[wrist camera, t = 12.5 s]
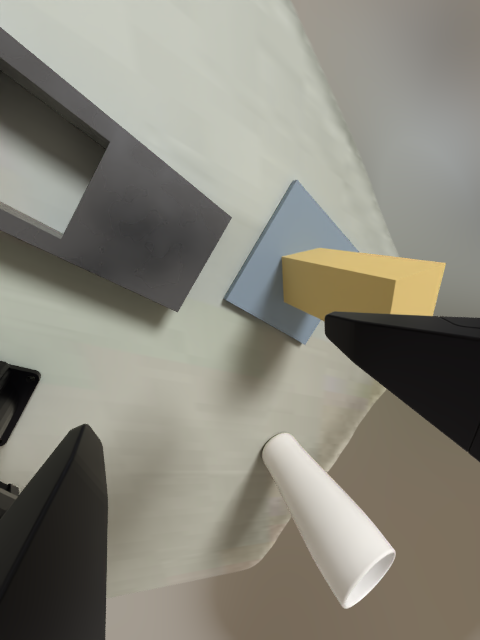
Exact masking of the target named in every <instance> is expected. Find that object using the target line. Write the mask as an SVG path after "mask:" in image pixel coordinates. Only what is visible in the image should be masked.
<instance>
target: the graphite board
mask: <svg viewBox="0 0 480 640" xmlns="http://www.w3.org/2000/svg"><path fill="white" fill-rule="evenodd" d="M0 70H1V71H2V72H4V73H5V74H6V75H8V76H9V77H10V78H12V79H13V80H14V81H16V82H17V83H18V84H20V85H21V86H22V87H24V88H25V89H26V90H28V91H29V92H30V93H32V94H33V95H34V96H36V97H37V98H38V99H40V100H41V101H42V102H44V103H45V104H46V105H48V106H49V107H50V108H52V109H53V110H54V111H56V112H57V113H58V114H60V115H61V116H62V117H64V118H65V119H66V120H68V121H69V122H71V123H72V124H73V125H75V126H76V127H77V128H79V129H80V130H81V131H83V132H84V133H85V134H87V135H88V136H89V137H91V138H92V139H93V140H95V141H96V142H97V143H99V144H100V145H101V146H103V147H104V148H105V149H106V151H105V153H104V155H103V157H102V159H101V161H100V163H99V165H98V167H97V169H96V171H95V173H94V175H93V177H92V179H91V181H90V183H89V185H88V187H87V189H86V191H85V193H84V195H83V197H82V199H81V201H80V203H79V205H78V207H77V209H76V211H75V213H74V214H73V216H72V218H71V220H70V222H69V224H68V226H67V228H66V230H65V232H64V234H62V233H60V232H58V231H56V230H54V229H52V228H50V227H48V226H47V225H45V224H43V223H41V222H39V221H37V220H35V219H33V218H31V217H29V216H27V215H25V214H23V213H21V212H19V211H17V210H15V209H13V208H11V207H9V206H8V205H6V204H4V203H2V202H0V230H1V231H3V232H5V233H7V234H10V235H12V236H14V237H16V238H18V239H20V240H23V241H25V242H27V243H29V244H31V245H33V246H36V247H38V248H40V249H42V250H44V251H46V252H48V253H51V254H53V255H55V256H57V257H59V258H61V259H64V260H66V261H68V262H70V263H72V264H74V265H77V266H79V267H81V268H83V269H85V270H87V271H90V272H92V273H94V274H96V275H98V276H100V277H103V278H105V279H107V280H109V281H111V282H113V283H115V284H118V285H120V286H122V287H124V288H126V289H128V290H131V291H133V292H135V293H137V294H139V295H141V296H144V297H146V298H148V299H150V300H152V301H154V302H157V303H159V304H161V305H163V306H165V307H167V308H169V309H172V310H174V311H176V312H178V311H179V309H180V307H181V305H182V304H183V302H184V300H185V298H186V297H187V295H188V293H189V291H190V290H191V288H192V286H193V284H194V283H195V281H196V279H197V277H198V276H199V274H200V272H201V271H202V269H203V267H204V265H205V264H206V262H207V260H208V258H209V257H210V255H211V253H212V251H213V250H214V248H215V246H216V244H217V243H218V241H219V239H220V237H221V236H222V234H223V232H224V230H225V229H226V227H227V225H228V223H229V222H230V220H231V218H232V217H230V216H229V215H228V214H227V213H226V212H224V211H223V210H222V209H221V208H219V207H218V206H217V205H216V204H215V203H213V202H212V201H211V200H210V199H209V198H207V197H206V196H205V195H204V194H202V193H201V192H200V191H199V190H198V189H196V188H195V187H194V186H193V185H192V184H190V183H189V182H188V181H187V180H185V179H184V178H183V177H182V176H181V175H179V174H178V173H177V172H176V171H175V170H173V169H172V168H171V167H170V166H168V165H167V164H166V163H165V162H164V161H162V160H161V159H160V158H159V157H157V156H156V155H155V154H154V153H153V152H151V151H150V150H149V149H148V148H147V147H145V146H144V145H143V144H142V143H140V142H139V141H138V140H137V139H136V138H134V137H133V136H132V135H131V134H130V133H128V132H127V131H126V130H125V129H123V128H122V127H121V126H120V125H119V124H117V123H116V122H115V121H114V120H113V119H111V118H110V117H109V116H108V115H106V114H105V113H104V112H103V111H102V110H100V109H99V108H98V107H97V106H96V105H94V104H93V103H92V102H91V101H89V100H88V99H87V98H86V97H85V96H83V95H82V94H81V93H80V92H78V91H77V90H76V89H75V88H74V87H72V86H71V85H70V84H69V83H68V82H66V81H65V80H64V79H63V78H61V77H60V76H59V75H58V74H57V73H55V72H54V71H53V70H52V69H51V68H49V67H48V66H47V65H46V64H44V63H43V62H42V61H41V60H40V59H38V58H37V57H36V56H35V55H34V54H32V53H31V52H30V51H29V50H27V49H26V48H25V47H24V46H23V45H21V44H20V43H19V42H18V41H17V40H15V39H14V38H13V37H12V36H10V35H9V34H8V33H7V32H6V31H4V30H3V29H2V28H1V27H0Z"/></svg>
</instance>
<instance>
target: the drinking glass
mask: <svg viewBox="0 0 480 640" xmlns="http://www.w3.org/2000/svg"><path fill="white" fill-rule="evenodd" d="M262 459H263V462H264V464H265V465H266V467H267V469H268V470H269V472H270V474H271V476H272V478H273V480H274V482H275V484H276V486H277V488H278V490H279V492H280V494H281V496H282V498H283V500H284V502H285V504H286V506H287V508H288V510H289V512H290V514H291V516H292V518H293V520H294V522H295V524H296V526H297V528H298V530H299V532H300V534H301V536H302V538H303V540H304V542H305V544H306V546H307V548H308V550H309V552H310V554H311V556H312V557H313V559H314V561H315V563H316V565H317V566H318V568H319V570H320V571H321V573H322V575H323V577H324V578H325V580H326V582H327V583H328V585H329V587H330V588H331V590H332V591H333V593H334V594H335V596H336V598H337V599H338V601H339V603H340V604H341V606H342V607H343V608H345V609H347V608H350V607H352V606H353V605H355V604H356V603H358V602H359V601H360V600H361V599H362V598H364V597H365V596H366V595H367V594H368V593H369V592H370V591H371V590H372V589H373V588H374V587H375V586H376V584H377V583H378V582H379V581H380V580H381V579H382V577H383V576H384V575H385V573H386V572H387V571H388V569H389V568H390V566H391V565H392V563H393V561H394V559H395V556H396V552H395V550H394V549H393V547H392V546H391V545H390V544H389V542H388V541H387V540H386V538H385V537H384V536H383V535H382V533H381V532H380V531H379V530H378V528H377V527H376V526H375V525H374V524H373V522H372V521H371V520H370V519H369V517H368V516H367V515H366V514H365V513H364V512H363V511H362V509H361V508H360V507H359V506H358V505H357V504H356V503H355V502H354V501H353V500H352V498H351V497H350V496H349V495H347V493H346V492H345V491H344V490H343V489H342V488H341V487H340V486H339V485H338V484H337V483H336V482H335V481H334V480H333V479H332V478H331V477H330V476H329V475H328V474H327V473H326V471H325V470H324V469H323V468H322V467H321V466H320V465H319V464H318V463H317V462H316V461H315V460H314V459H313V458H312V457H311V456H310V455H309V454H308V453H307V452H306V451H305V450H304V448H303V447H302V446H301V445H300V444H299V443H298V442H297V440H296V439H295V438H294V437H293V436H292V435H291V434H289V433H280V434H278V435H276V436H274V437H273V438H271V439H270V440H269V441H268V442H267V444H266V445H265V447H264V449H263V452H262Z"/></svg>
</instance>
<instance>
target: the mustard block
mask: <svg viewBox="0 0 480 640" xmlns="http://www.w3.org/2000/svg"><path fill="white" fill-rule="evenodd" d="M444 269H445V263H439V262H431V261H424V260H416V259H408V258H399V257H391V256H383V255H375V254H367V253H359V252H350V251H342V250H334V249H326V248H317V249H312V250H308V251H304V252H299V253H295V254H291V255H287V256H282V274H283V295H284V302H285V303H287V304H289V305H291V306H293V307H296V308H298V309H300V310H302V311H304V312H306V313H308V314H310V315H312V316H314V317H316V318H319V319H321V320H323V321H325V320H324V319H325V316H326V315H327V314H329V313H331V312H334V311H337V312H358V313H379V314H400V315H421V316H433V312H434V308H435V304H436V300H437V296H438V292H439V288H440V285H441V280H442V276H443V273H444Z"/></svg>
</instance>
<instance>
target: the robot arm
mask: <svg viewBox="0 0 480 640" xmlns="http://www.w3.org/2000/svg"><path fill="white" fill-rule="evenodd" d="M324 320H325V334H326V336H327V338H328V339H329V340H330V341H331V342H332V343H333V344H335V345H336V346H337V347H338V348H339V349H340V350H341V351H342V352H343V353H344V354H345V355H346V356H347V357H348V358H349V359H350V360H351V361H353V362H354V363H355V364H356V365H357V366H359V367H360V368H361V369H362V370H364V371H365V372H366V373H367V374H369V375H370V376H371V377H372V378H374V379H375V380H376V381H378V382H379V383H380V384H381V385H383V386H384V387H385V388H386V389H388V390H389V391H391V392H392V393H393V394H394V395H395V396H397V397H398V398H399V399H400V400H402V401H403V402H404V403H406V404H407V405H408V406H409V407H411V408H412V409H413V410H414V411H416V412H417V413H419V414H420V415H421V416H422V417H423V418H425V419H426V420H427V421H429V422H430V423H431V424H432V425H434V426H435V427H436V428H437V429H439V430H440V431H441V432H443V433H444V434H445V435H446V436H448V437H449V438H450V439H451V440H453V441H454V442H455V443H456V444H458V445H459V446H460V447H462V448H463V449H464V450H465V451H467V452H468V453H469V454H470V455H471V456H473V457H474V458H475V459H477V460H478V461H479V462H480V318H468V317H444V316H442V317H441V316H440V317H438V316H421V315H400V314H379V313H358V312H337V311H334V312H331V313H329V314H327V315H326V316H325V319H324ZM28 376H33V377H35V378H34V379H30V378H28ZM40 378H41V374H40V373H39V372H38V371H36V370H32V369H28V368H23V367H19V366H15V365H10V364H8V363H6V362H3V361H0V439H2V440H0V446H2V445H4V444H5V443H6V442H7V440H8V438H9V436H10V435H11V433H12V431H13V429H14V427H15V425H16V423H17V421H18V419H19V417H20V416H21V414H22V412H23V410H24V408H25V406H26V404H27V402H28V400H29V399H30V397H31V395H32V393H33V391H34V389H35V387H36V385H37V383H38V382H39V380H40ZM107 524H108V495H107V484H106V474H105V464H104V454H103V446H102V443H101V441H100V439H99V438H98V437H97V435H96V434H95V432H94V431H93V430H92V428H91V427H90V426H89V425H88V424H83V425H80V426H78V427H76V428H74V429H72V430H70V431H69V432H68V434H67V435H66V436H65V438H64V439H63V440H62V441H61V443H60V444H59V445H58V446H57V448H56V449H55V450H54V452H53V453H52V454H51V455H50V457H49V458H48V459H47V460H46V462H45V463H44V464H43V465H42V467H41V468H40V469H39V471H38V472H37V473H36V474H35V476H34V477H33V478H32V479H31V481H30V482H29V483H28V484H27V486H26V487H25V488H24V490H23V491H22V492H21V493H20V495H19V488H18V487H16V486H14V485H12V484H8V485H6V484H4V483H2V482H0V640H105V624H106V622H105V619H106V574H107Z"/></svg>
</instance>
